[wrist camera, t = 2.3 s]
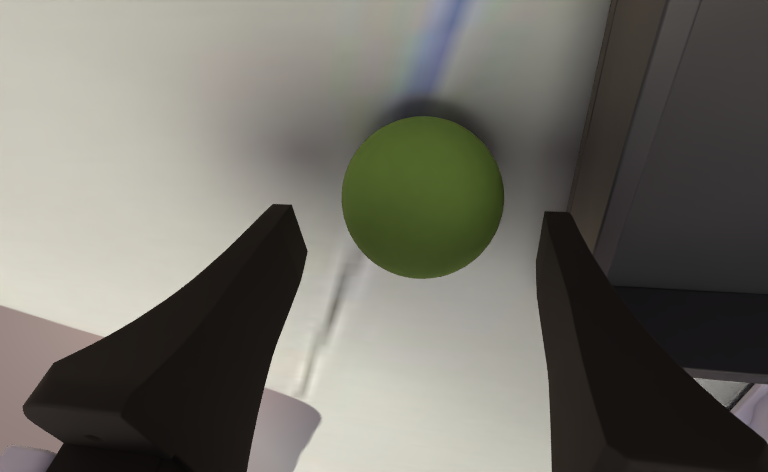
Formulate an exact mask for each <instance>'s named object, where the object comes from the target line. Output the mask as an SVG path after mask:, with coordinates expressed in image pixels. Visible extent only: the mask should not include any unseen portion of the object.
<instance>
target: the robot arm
mask: <svg viewBox="0 0 768 472" xmlns="http://www.w3.org/2000/svg"><path fill="white" fill-rule="evenodd" d="M307 252H308V251H307V248H306V245H305V242H304V239H303V236H302V234H301V231H300V228H299V225H298V222H297V219H296V216H295V213H294V210H293V207H292V205H283V204H272V205H271V206H270V207H269V208H268V209H267V210H266V211H265V212H264V213H263V214H262V215H261V216H260V217H259V218H258V219H257V220H256V221H255V222H254V223H253V224H252V225H251V226H250V227H249V228H248V229H247V230H246V231H245V232H244V233H243V234H242V235H241V236H240V237H239V238H238V239H237V240H236V241H235V242H234V243H233V244H232V245H231V246H230V247H229V248H228V249H227V250H226V251H225V252H223V253H222V254H221V255H220V256H219V257H218V258H217V259H216V260H214V261H213V262H212V263H211V264H210V265H209V266H208V267H207V268H206V269H204V270H203V271H202V272H201V273H200V274H199V275H197V276H196V277H195V278H194V279H193V280H191V281H190V282H189V283H188V284H186V285H185V286H184V287H182V288H181V289H180V290H178V291H177V292H176V293H174V294H173V295H172V296H170V297H169V298H168V299H166V300H165V301H163V302H162V303H160V304H159V305H157V306H156V307H154V308H153V309H151V310H150V311H148V312H147V313H145V314H144V315H142V316H141V317H139V318H138V319H136V320H134V321H133V322H131V323H129V324H128V325H126V326H124V327H123V328H121V329H119V330H117V331H116V332H114V333H112V334H110V335H108V336H107V337H105V338H103V339H101V340H100V341H97V342H96V343H94V344H92V345H90V346H88V347H86V348H84V349H82V350H79V351H77V352H75V353H73V354H71V355H69V356H67V357H65V358H63V359H61V360H59V361H57V362H55V363H53V365H52V366H51V368H50V369H49V370H48V372H47V373H46V374H45V376H44V377H43V379H42V380H41V381H40V383H39V384H38V386H37V387H36V388H35V390H34V391H33V393H32V394H31V395H30V397H29V398H28V400H27V401H26V402H25V404H24V405H23V411H24V414H25V416H26V417H27V418H28V419H29V420H30V421H32V422H33V423H34V424H36V425H38V426H39V427H40V428H42V429H43V430H45V431H46V432H48V433H50V434H51V435H53V436H54V437H56V438H57V439H59V440H60V441H62V442H63V443H64V444H63V445H62V447H61V448H60V450H59V451H58V453H57V454H56V453H54V452H51V451H48V450H44V449H38V448H32V447H26V446H19V445H9V446H7V448H6V449H5V451H4V452H3V453H2V455H1V456H0V472H247V467H248V460H249V455H250V449H251V444H252V439H253V435H254V430H255V425H256V420H257V415H258V411H259V407H260V403H261V399H262V394H263V390H264V386H265V382H266V379H267V375H268V371H269V367H270V364H271V360H272V356H273V353H274V350H275V347H276V344H277V342H278V339H279V336H280V334H281V331H282V329H283V326H284V324H285V321H286V318H287V316H288V313H289V311H290V308H291V306H292V303H293V300H294V298H295V295H296V292H297V290H298V287H299V284H300V282H301V278H302V274H303V270H304V266H305V261H306V256H307ZM536 286H537V300H538V308H539V315H540V322H541V328H542V335H543V342H544V349H545V355H546V362H547V370H548V380H549V398H550V423H551V454H552V472H768V384H757V383H755V384H754V386H753V387H752V388H751V389H750V390H749V391H748V392H747V393H746V394H745V395H744V397H743V398H742V399H741V400H740V401H739V402H738V403H737V404H736V405H735V406H734V407H733V409H732V410H731V411H729V410H728V409H726V408H725V407H724V406H723V405H722V404H721V403H719V402H718V401H717V400H716V399H715V398H714V397H713V396H712V395H710V394H709V393H708V392H707V391H706V390H705V389H704V388H703V387H702V386H700V385H699V384H698V383H697V382H696V381H695V380H694V379H693V378H692V377H691V376H690V375H689V374H688V373H687V372H686V371H685V370H684V369H683V368H682V367H681V366H680V365H679V364H678V363H677V362H676V361H675V360H674V359H673V358H672V357H671V356H670V355H669V354H668V353H667V352H666V351H665V350H664V349H663V348H662V347H661V346H660V344H659V343H658V342H657V341H656V340H655V339H654V338H653V337H652V336H651V335H650V333H649V332H648V331H647V330H646V329H645V327H644V326H643V325H642V324H641V323H640V322H639V320H638V319H637V318H636V317H635V315H634V314H633V313H632V312H631V310H630V309H629V308H628V306H627V305H626V304H625V303H624V301H623V300H622V298H621V297H620V296H619V294H618V293H617V292H616V290H615V289H614V287H613V286H612V284H611V283H610V281H609V280H608V279H607V277H606V275H605V274H604V272H603V271H602V269H601V268H600V266H599V264H598V263H597V261H596V260H595V258H594V256H593V255H592V253H591V251H590V249H589V248H588V246H587V244H586V242H585V241H584V239H583V237H582V235H581V233H580V231H579V229H578V227H577V225H576V223H575V221H574V218H573V216H572V215H571V214H570V213H569V212H549V211H545V212H544V218H543V223H542V229H541V235H540V241H539V247H538V253H537V259H536Z"/></svg>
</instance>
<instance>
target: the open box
mask: <svg viewBox="0 0 768 472" xmlns="http://www.w3.org/2000/svg"><path fill="white" fill-rule="evenodd" d="M567 212H569V213H570V214H571V215H572V216H573V218H574V221H575V223H576V225H577V227H578V229H579V231H580V233H581V235H582V237H583V239H584V241H585V242H586V244H587V246H588V248H589V249H590V251H591V253H592V255H593V256H594V258H595V260H596V261H597V263H598V264H599V266H600V268H601V269H602V271H603V272H604V274H605V275H606V277H607V279H608V280H609V281H610V283H611V284H612V286H613V287H614V289H615V290H616V292H617V293H618V294H619V296H620V297H621V298H622V300H623V301H624V303H625V304H626V305H627V306H628V308H629V309H630V310H631V312H632V313H633V314H634V315H635V317H636V318H637V319H638V320H639V322H640V323H641V324H642V325H643V326H644V327H645V329H646V330H647V331H648V332H649V333H650V335H651V336H652V337H653V338H654V339H655V340H656V341H657V342H658V343H659V344H660V346H661V347H662V348H663V349H664V350H665V351H666V352H667V353H668V354H669V355H670V356H671V357H672V358H673V359H674V360H675V361H676V362H677V363H678V364H679V365H680V366H681V367H682V368H683V369H684V370H685V371H686V372H687V373H688V374H689V375H690V376H691V377H692V378H702V379H713V380H724V381H735V382H746V383H757V384H768V0H612V2H611V6H610V11H609V16H608V20H607V25H606V30H605V34H604V39H603V44H602V48H601V53H600V58H599V62H598V67H597V72H596V77H595V81H594V86H593V91H592V95H591V100H590V105H589V109H588V114H587V119H586V123H585V128H584V133H583V137H582V142H581V147H580V151H579V156H578V161H577V166H576V170H575V175H574V180H573V184H572V189H571V194H570V198H569V203H568V208H567Z"/></svg>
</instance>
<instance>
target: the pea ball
mask: <svg viewBox="0 0 768 472" xmlns="http://www.w3.org/2000/svg"><path fill="white" fill-rule="evenodd" d="M503 205H504V189H503V182H502V177H501V174H500V171H499V168H498V165H497V163H496V161H495V159H494V157H493V156H492V154H491V152H490V151H489V149H488V148H487V147H486V146H485V144H484V143H483V142H482V141H481V140H480V139H479V138H478V137H477V136H475V135H474V134H473V133H472V132H470V131H469V130H468V129H466V128H464V127H463V126H461V125H459V124H457V123H454V122H452V121H449V120H446V119H442V118H437V117H428V116H419V117H410V118H404V119H401V120H398V121H395V122H392V123H390V124H388V125H386V126H384V127H382V128H381V129H379V130H378V131H376V132H375V133H373V134H372V135H371V136H370V137H369V138H368V139H366V140H365V141H364V143H363V144H362V145H361V146H360V147H359V149H358V150H357V151H356V152H355V154H354V156H353V158H352V159H351V161H350V163H349V165H348V168H347V171H346V173H345V177H344V181H343V186H342V208H343V215H344V219H345V222H346V225H347V228H348V231H349V233H350V235H351V237H352V238H353V240H354V242H355V243H356V245H357V246H358V248H359V249H360V250H361V251H362V252H363V253H364V254H365V255H366V256H367V257H368V258H369V259H370V260H371V261H372V262H374V263H375V264H377V265H378V266H380V267H381V268H383V269H385V270H387V271H389V272H391V273H394V274H397V275H400V276H404V277H409V278H417V279H426V278H435V277H441V276H445V275H448V274H451V273H453V272H455V271H458V270H460V269H462V268H463V267H465V266H467V265H468V264H470V263H471V262H472V261H473V260H475V259H476V258H477V257H478V256H479V255H480V254H481V253H482V252H483V251H484V250H485V248H486V247H487V246H488V245H489V243H490V242H491V240H492V238H493V237H494V235H495V233H496V231H497V229H498V226H499V223H500V220H501V217H502V212H503Z"/></svg>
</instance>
